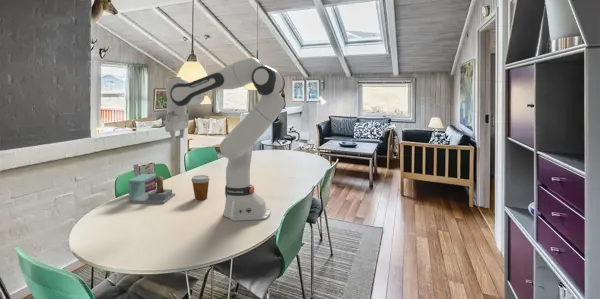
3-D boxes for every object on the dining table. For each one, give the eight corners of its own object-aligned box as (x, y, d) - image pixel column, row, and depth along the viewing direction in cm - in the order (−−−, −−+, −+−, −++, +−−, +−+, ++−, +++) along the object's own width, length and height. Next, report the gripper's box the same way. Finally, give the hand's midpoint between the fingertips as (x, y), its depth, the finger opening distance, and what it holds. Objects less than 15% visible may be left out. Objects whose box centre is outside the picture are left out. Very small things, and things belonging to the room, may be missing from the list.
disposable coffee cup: (213, 197, 176) (213, 176, 174) (200, 202, 169) (199, 180, 167) (202, 194, 181) (201, 174, 179) (188, 199, 174) (187, 177, 172)
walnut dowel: (164, 196, 174) (163, 176, 172) (162, 198, 171) (161, 178, 169) (158, 196, 174) (157, 176, 172) (156, 197, 171) (155, 177, 169)
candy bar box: (150, 187, 193) (148, 161, 190) (156, 188, 191) (155, 162, 188) (134, 193, 182) (132, 164, 179) (141, 194, 180) (139, 165, 178)
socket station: (175, 195, 179) (174, 174, 177) (164, 203, 165) (162, 181, 163) (143, 194, 180) (142, 173, 178) (129, 202, 166) (128, 180, 164)
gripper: (174, 112, 146) (175, 142, 148) (190, 110, 166) (191, 136, 169) (160, 112, 146) (162, 141, 148) (178, 110, 166) (179, 136, 169)
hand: (177, 139), depth 159 cm, fingers open, 8 cm apart
